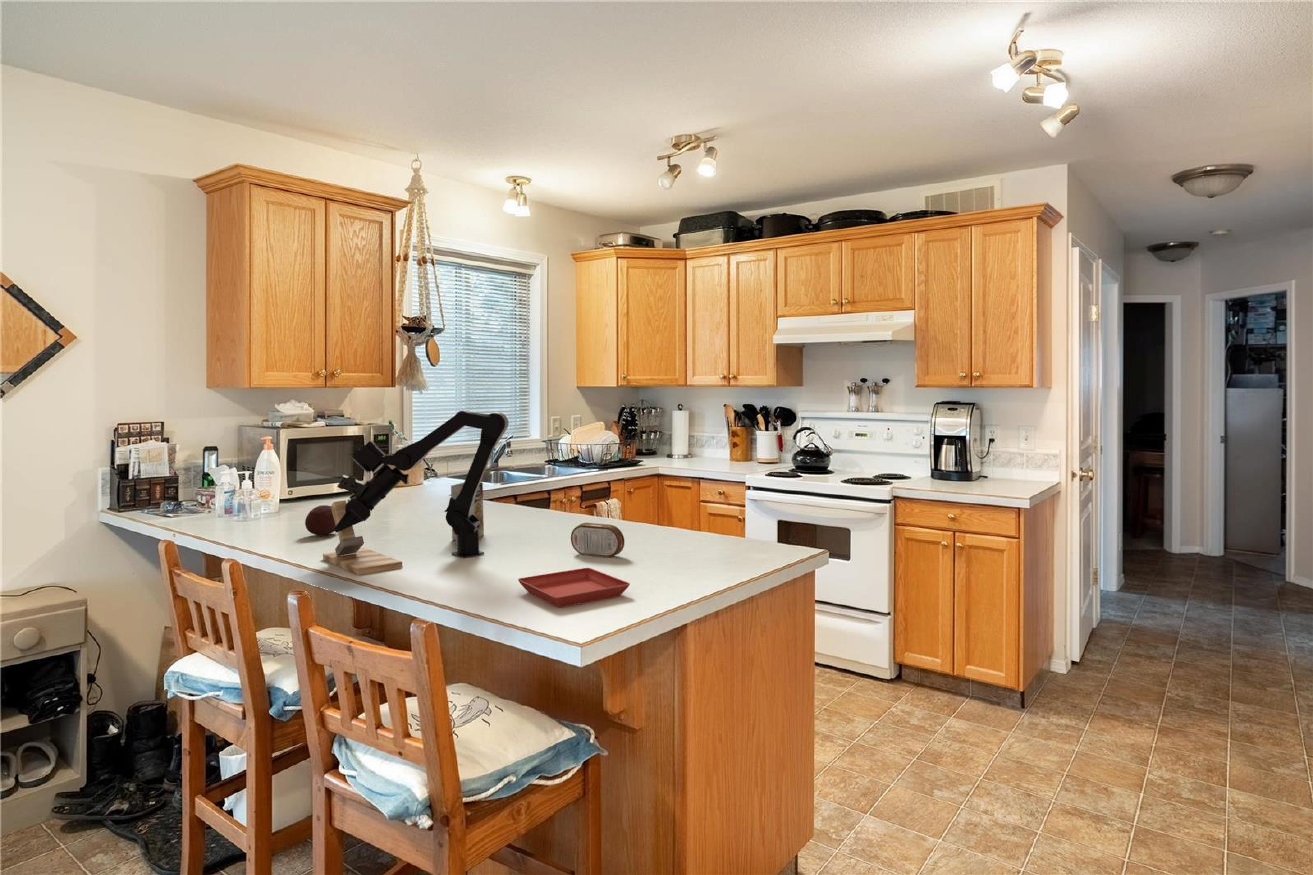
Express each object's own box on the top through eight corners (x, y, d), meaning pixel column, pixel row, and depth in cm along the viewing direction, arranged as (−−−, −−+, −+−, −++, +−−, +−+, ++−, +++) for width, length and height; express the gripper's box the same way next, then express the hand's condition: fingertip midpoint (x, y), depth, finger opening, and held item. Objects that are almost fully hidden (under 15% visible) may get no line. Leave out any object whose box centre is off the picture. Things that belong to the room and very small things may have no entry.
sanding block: (364, 543, 200) (351, 496, 203) (344, 546, 196) (331, 499, 200) (356, 552, 205) (344, 507, 208) (336, 556, 201) (324, 510, 205)
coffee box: (472, 540, 227) (470, 485, 226) (451, 540, 229) (449, 485, 228) (485, 534, 236) (483, 481, 235) (465, 534, 238) (463, 481, 237)
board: (402, 567, 194) (402, 561, 194) (358, 575, 187) (357, 568, 187) (364, 553, 212) (364, 547, 212) (323, 559, 205) (322, 553, 205)
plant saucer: (632, 598, 165) (631, 582, 165) (555, 613, 155) (555, 596, 155) (588, 581, 180) (588, 566, 180) (516, 593, 170) (516, 578, 169)
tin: (625, 556, 204) (624, 524, 203) (619, 559, 201) (619, 526, 200) (575, 552, 210) (574, 521, 210) (569, 554, 207) (568, 523, 207)
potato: (349, 532, 243) (348, 503, 242) (318, 540, 232) (317, 508, 231) (327, 531, 246) (326, 501, 245) (297, 538, 235) (295, 507, 234)
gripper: (358, 461, 212) (315, 503, 209) (355, 467, 194) (307, 513, 191) (389, 489, 215) (347, 531, 212) (389, 497, 197) (342, 543, 194)
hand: (335, 529), depth 202 cm, fingers closed on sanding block, 6 cm apart
